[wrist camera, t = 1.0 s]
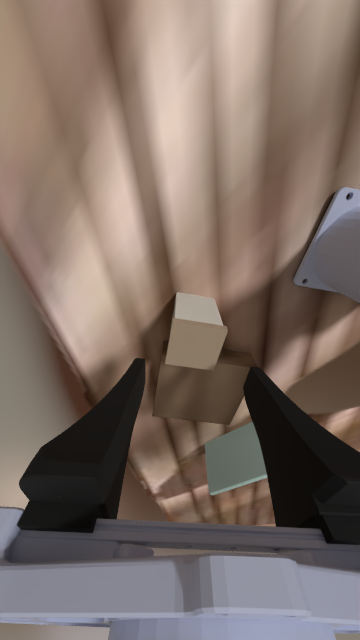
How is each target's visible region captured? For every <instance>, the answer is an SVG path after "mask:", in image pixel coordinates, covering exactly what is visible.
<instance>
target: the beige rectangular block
mask: <svg viewBox="0 0 360 640" xmlns="http://www.w3.org/2000/svg"><path fill="white" fill-rule="evenodd" d="M227 332H228V329H227V326H223V323H222V320H221V317H220V314H219V311H218V308H217V305H216V302H215V300H214V298H209V297H203V296H197V295H191V294H185V293H179V292H177V293H176V298H175V304H174V310H173V316H172V321H171V329H170V337H169V343H168V348H167V354H166V360H165V364H169V365H176V366H183V367H191V368H198V369H205V370H212V371H214V368H215V365H216V363H217V360H218V357H219V354H220V351H221V349H222V346H223V343H224V340H225V338H226V335H227Z"/></svg>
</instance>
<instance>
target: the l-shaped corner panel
mask: <svg viewBox="0 0 360 640" xmlns="http://www.w3.org/2000/svg"><path fill="white" fill-rule="evenodd" d="M205 454H206V465H207V476H208V487H209V494H211V495H215V494H218V493H221V492H224V491H227V490H230V489H234V488H237V487H240V486H243V485H246V484H249V483H252V482H255V481H258V480H261V479H264V478H267V473H266V468H265V464H264V459H263V455H262V451H261V447H260V443H259V439H258V436H257V433H256V430H255V427H254V424H253V422H251V423H249V424H246V425H244V426H242V427H240V428H238V429H235V430H233V431H231V432H229V433H227V434H225V435H222V436H220V437H218V438H216V439H214V440H211V441H209V442H207V443H205Z"/></svg>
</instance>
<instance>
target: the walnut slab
mask: <svg viewBox="0 0 360 640" xmlns="http://www.w3.org/2000/svg"><path fill="white" fill-rule="evenodd" d="M168 343H169V342H165V341H164V342H163V349H162V355H161V362H160V368H159V375H158V381H157V388H156V394H155V400H154V407H153V414H152V416H156V417H165V418H174V419H183V420H191V421H200V422H209V423H218V424H227V425H230V423H231V421H232V419H233V417H234V415H235V413H236V411H237V409H238V407H239V405H240V403H241V401H242V399H243V397H244V390H243V386H244V383H245V380H246V378H247V375H248V372H249V370H250V367H257V365H256V363H255V361H254V359H253V357H252V355H251V354H249V353H242V352H235V351H228V350H221V351H220V354H219V357H218V360H217V363H216V365H215V368H214V371H212V370H205V369H198V368H191V367H183V366H176V365H169V364H165V360H166V354H167V348H168Z"/></svg>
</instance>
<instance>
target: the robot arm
mask: <svg viewBox="0 0 360 640" xmlns="http://www.w3.org/2000/svg"><path fill="white" fill-rule="evenodd" d="M348 193H349V194H350V196H349V198H348V199H346V196H347V194H348ZM304 279H306V281H305V282H303V283H302V281H303V280H304ZM293 283H294V284H296V285H298V286H304V287H309V288H315V289H321V290H326V291H332V292H338V293H341V294H343V295H345V296H347V297H349V298H351V299H353V300H355V301H356V302H358V303H360V190H357V189H353V188H348V187H344V188H340V189H339V190H337V191H336V193H335V195H334V197H333V199H332V201H331V203H330V205H329V207H328V209H327V211H326V213H325V215H324V217H323V219H322V221H321V223H320V225H319V227H318V230H317V232H316V234H315V236H314V238H313V240H312V242H311V244H310V246H309V248H308V250H307V252H306V254H305V256H304V258H303V260H302V262H301V264H300V267H299V269H298V271H297V273H296V275H295V277H294V279H293ZM144 385H145V359H141V358H136V359H135V360H134V361H133V363H132V364H131V366H130V367H129V369H128V370H127V371H126V373H125V374H124V375H123V377H122V378H121V379H120V380H119V382H118V383H117V384H116V385H115V386H114V387H113V389H112V390H111V391H110V392H109V393H108V394H107V395H106V396H105V397H104V398H103V399H102V400H101V401H100V402H99V403H98V404H97V405H96V406H95V407H94V408H93V409H91V410H90V411H89V412H88V413H87V414H86V415H85V416H83V417H82V418H81V419H80V420H78V421H77V422H76V423H75V424H73V425H72V426H71V427H69V428H68V429H67V430H65V431H64V432H63V433H61V434H60V435H58V436H57V437H55V438H54V439H53V440H51V441H49V442H48V443H47V444H45V445H44V446H42V447H41V448H40V450H39V451H38V453H37V454H36V455H35V457H34V458H33V460H32V461H31V463H30V464H29V466H28V468H27V469H26V471H25V473H24V474H23V476H22V478H21V479H20V482H19V486H20V488H21V490H22V491H23V493H24V494H25V495H26V496H27V498H28V499H29V500H30V501H29V502H28V505H27V506H26V508H25V510H24V509H21V508H16V507H0V623H22V624H44V625H47V624H48V625H68V626H90V627H110V631H109V637H108V640H336V638H335V635H334V633H360V452H358V451H356V450H355V449H353V448H352V447H350V446H349V445H347V444H346V443H344V442H343V441H341V440H340V439H338V438H337V437H336V436H334V435H333V434H331V433H330V432H329V431H327V430H326V429H325V428H323V427H322V426H321V425H319V424H318V423H317V422H316V421H314V420H313V419H312V418H311V417H309V416H308V415H307V414H306V413H305V412H303V411H302V410H301V409H300V408H299V407H298V406H297V405H296V404H295V403H294V402H292V401H291V400H290V399H289V398H288V397H287V396H286V395H285V394H284V393H283V392H282V391H281V390H280V389H279V388H278V387H277V386H276V385H275V384H274V382H273V381H272V380H271V379H270V378H269V377H268V376H267V375H266V374H265V373H264V372H263V371H262V370H261V369H260V368H259V367H250V370H249V372H248V375H247V378H246V380H245V383H244V386H243V390H244V396H245V400H246V404H247V407H248V410H249V413H250V416H251V419H252V421H253V424H254V427H255V430H256V433H257V436H258V439H259V443H260V447H261V451H262V455H263V459H264V464H265V468H266V473H267V477H268V483H269V488H270V493H271V498H272V504H273V510H274V516H275V523H276V527H269V526H248V525H227V524H205V523H184V522H162V521H141V520H139V521H138V520H119V519H117V513H118V507H119V501H120V496H121V489H122V484H123V478H124V473H125V467H126V462H127V456H128V451H129V446H130V441H131V436H132V432H133V427H134V424H135V421H136V417H137V414H138V410H139V407H140V403H141V400H142V396H143V391H144ZM146 547H153V548H176V549H200V550H222V551H223V550H224V551H246V552H270V553H277V554H254V553H229V552H210V553H205V554H194V555H193V554H191V555H170V556H153V554H154V551H153V550H152V549H151V548H146Z"/></svg>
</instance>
